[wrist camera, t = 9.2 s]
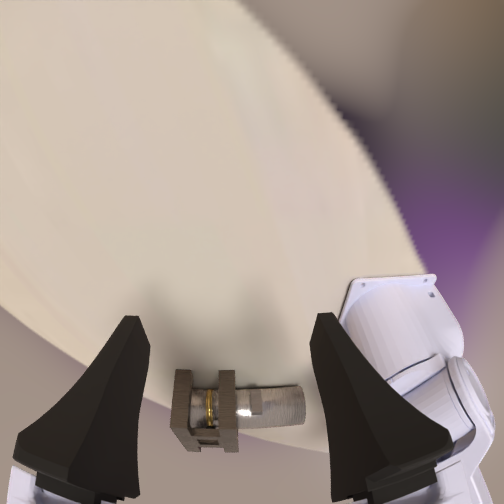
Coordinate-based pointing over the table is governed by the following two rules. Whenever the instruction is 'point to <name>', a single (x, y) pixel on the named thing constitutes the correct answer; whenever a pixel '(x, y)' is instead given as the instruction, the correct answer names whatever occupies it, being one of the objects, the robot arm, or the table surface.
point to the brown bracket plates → (226, 414)
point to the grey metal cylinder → (251, 408)
